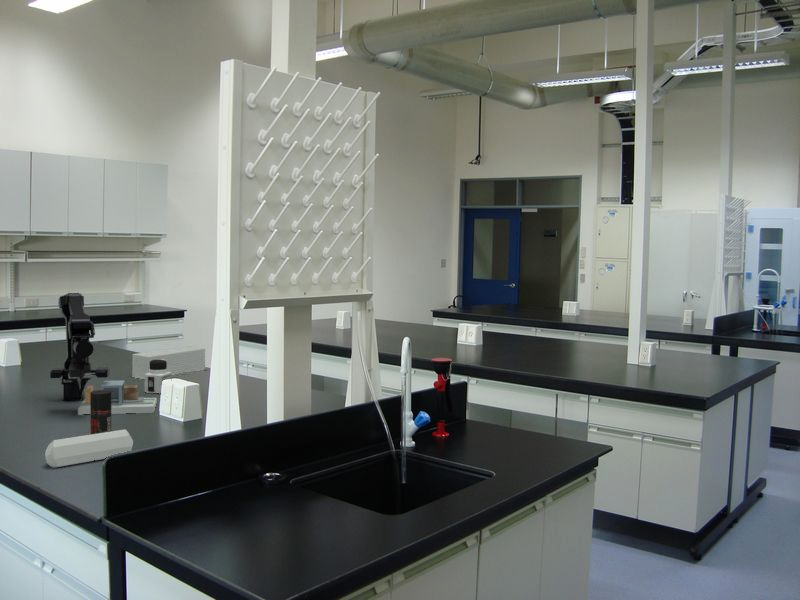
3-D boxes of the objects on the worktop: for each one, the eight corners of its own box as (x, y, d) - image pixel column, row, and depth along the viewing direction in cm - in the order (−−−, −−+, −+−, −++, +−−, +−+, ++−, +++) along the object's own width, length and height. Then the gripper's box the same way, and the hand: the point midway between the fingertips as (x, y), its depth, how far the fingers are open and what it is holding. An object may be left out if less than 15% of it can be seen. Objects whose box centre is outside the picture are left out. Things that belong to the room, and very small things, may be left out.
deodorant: (94, 437, 225) (94, 389, 224) (113, 437, 226) (113, 390, 224) (87, 442, 219) (87, 394, 218) (107, 442, 220) (107, 394, 218)
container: (161, 394, 287) (161, 362, 286) (144, 392, 289) (144, 360, 288) (171, 390, 295) (171, 359, 294) (154, 389, 296) (154, 357, 295)
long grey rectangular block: (189, 368, 345) (189, 346, 344) (205, 371, 339) (205, 348, 338) (132, 378, 318) (132, 354, 317) (148, 381, 312) (148, 356, 311)
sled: (85, 403, 256) (85, 388, 255) (87, 399, 260) (87, 385, 260) (143, 401, 261) (143, 387, 260) (144, 398, 265) (144, 384, 265)
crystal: (125, 434, 216) (39, 448, 200) (133, 427, 211) (45, 440, 195) (130, 458, 214) (43, 474, 198) (138, 452, 209) (50, 467, 193)
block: (123, 400, 259) (123, 387, 259) (124, 397, 263) (124, 385, 263) (136, 399, 260) (136, 387, 260) (137, 397, 264) (137, 385, 264)
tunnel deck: (78, 415, 251) (77, 387, 250) (84, 405, 265) (84, 379, 264) (153, 413, 257) (153, 386, 257) (156, 404, 271) (156, 378, 270)
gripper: (46, 357, 246) (46, 402, 247) (105, 356, 251) (105, 401, 252) (53, 351, 257) (53, 395, 258) (109, 351, 261) (109, 394, 263)
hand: (80, 396), depth 257 cm, fingers closed
